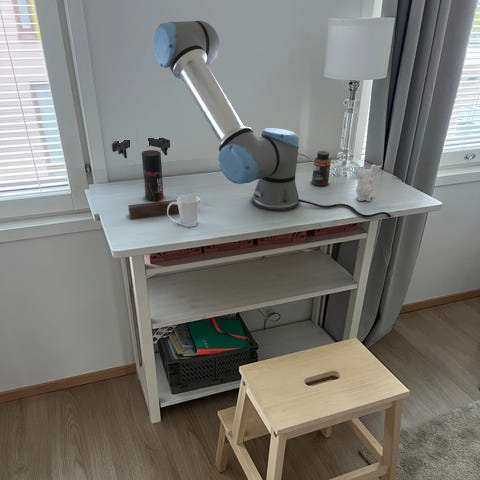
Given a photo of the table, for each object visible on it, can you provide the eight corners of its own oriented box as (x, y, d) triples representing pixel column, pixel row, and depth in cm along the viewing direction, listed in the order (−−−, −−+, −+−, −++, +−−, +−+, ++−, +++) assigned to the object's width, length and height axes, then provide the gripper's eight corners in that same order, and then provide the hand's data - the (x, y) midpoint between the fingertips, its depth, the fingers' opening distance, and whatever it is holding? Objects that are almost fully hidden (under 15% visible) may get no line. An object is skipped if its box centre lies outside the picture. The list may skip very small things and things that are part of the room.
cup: (202, 228, 145) (201, 202, 141) (168, 230, 144) (166, 204, 139) (199, 218, 151) (199, 193, 146) (167, 219, 149) (165, 194, 145)
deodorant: (158, 202, 160) (155, 157, 151) (142, 199, 161) (138, 154, 153) (166, 196, 164) (163, 151, 155) (151, 193, 166) (147, 149, 157)
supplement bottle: (327, 181, 181) (331, 150, 174) (328, 187, 176) (332, 155, 169) (311, 180, 181) (315, 149, 175) (311, 185, 176) (315, 154, 170)
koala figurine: (371, 195, 171) (378, 161, 164) (378, 203, 166) (386, 168, 158) (348, 196, 170) (354, 161, 163) (355, 203, 164) (361, 168, 157)
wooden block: (194, 208, 157) (194, 197, 155) (196, 211, 155) (196, 200, 153) (129, 216, 151) (128, 205, 149) (130, 219, 149) (129, 208, 147)
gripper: (168, 142, 185) (182, 160, 169) (101, 147, 178) (109, 166, 162) (167, 122, 180) (181, 138, 164) (98, 126, 173) (106, 143, 157)
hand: (146, 152), depth 163 cm, fingers open, 13 cm apart
